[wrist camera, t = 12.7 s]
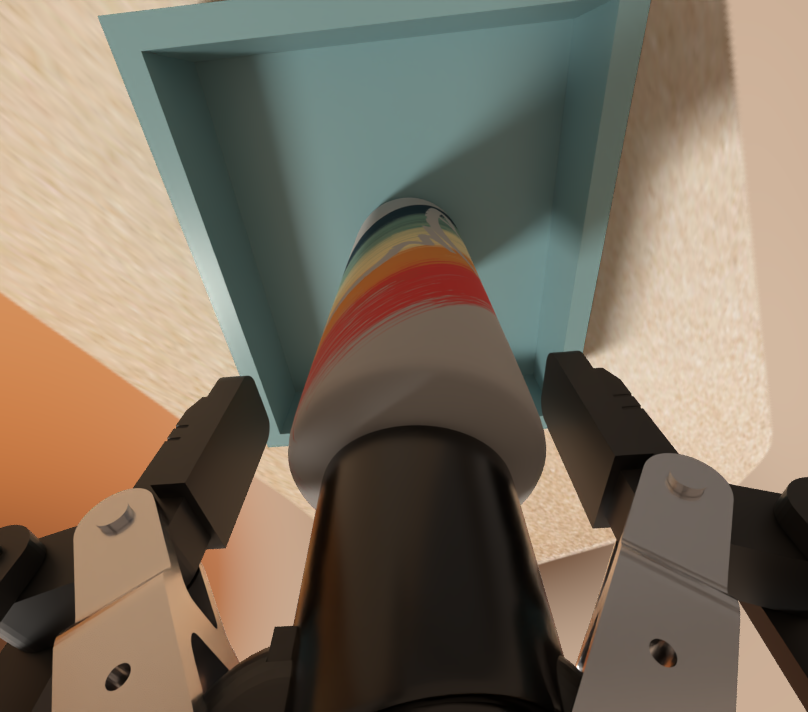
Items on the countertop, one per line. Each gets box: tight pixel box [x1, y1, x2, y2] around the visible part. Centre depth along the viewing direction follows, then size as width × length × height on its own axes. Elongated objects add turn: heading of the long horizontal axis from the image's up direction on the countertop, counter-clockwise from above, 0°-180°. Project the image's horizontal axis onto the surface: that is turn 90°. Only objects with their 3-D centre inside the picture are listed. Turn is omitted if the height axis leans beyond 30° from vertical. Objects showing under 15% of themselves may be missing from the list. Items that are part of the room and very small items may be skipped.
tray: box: [98, 0, 651, 447], centre depth 20 cm, size 20×18×5 cm
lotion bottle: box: [284, 198, 564, 712], centre depth 13 cm, size 6×6×20 cm
